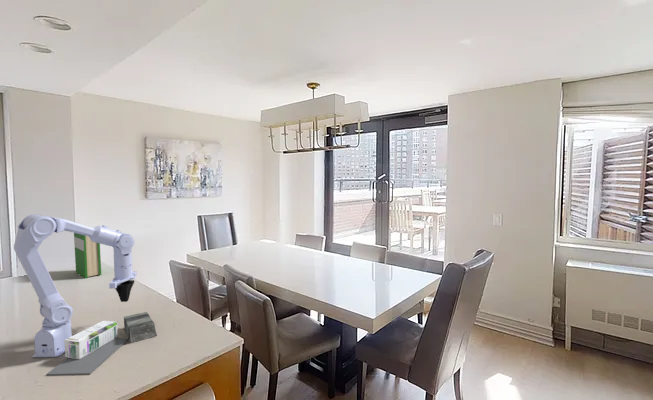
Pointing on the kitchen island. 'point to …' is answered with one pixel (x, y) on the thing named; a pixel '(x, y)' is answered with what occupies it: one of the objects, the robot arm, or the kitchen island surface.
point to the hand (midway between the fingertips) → (124, 301)
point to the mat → (88, 360)
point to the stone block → (139, 327)
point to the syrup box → (90, 339)
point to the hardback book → (87, 256)
